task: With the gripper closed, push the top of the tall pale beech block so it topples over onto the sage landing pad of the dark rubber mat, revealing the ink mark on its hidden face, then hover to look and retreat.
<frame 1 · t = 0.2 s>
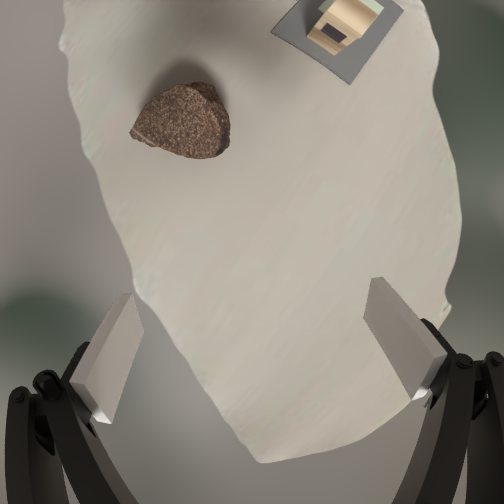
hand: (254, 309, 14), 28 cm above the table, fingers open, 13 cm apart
beech block: (328, 36, 30), resting on rubber mat
rock: (195, 122, 35), on the table
rubber mat: (345, 15, 28), on the table
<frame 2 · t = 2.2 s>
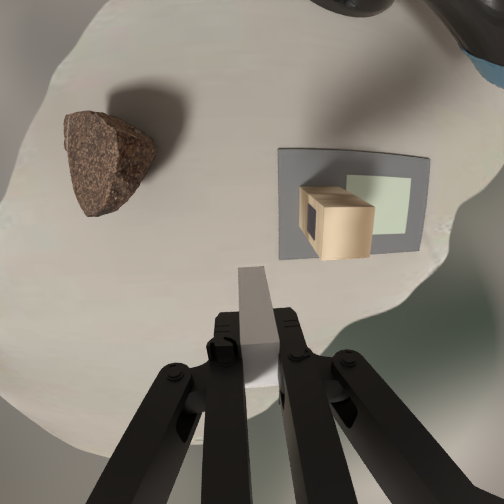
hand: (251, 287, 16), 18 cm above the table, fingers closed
beech block: (319, 206, 33), resting on rubber mat
rock: (130, 152, 30), on the table
rubber mat: (361, 205, 33), on the table
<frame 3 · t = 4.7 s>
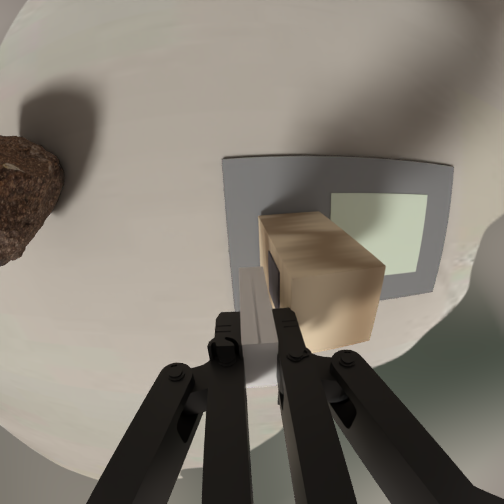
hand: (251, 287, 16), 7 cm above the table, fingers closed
beech block: (289, 242, 22), point 1 cm above the table, tilted 5°, touching gripper, rubber mat
rock: (42, 177, 20), on the table
rubber mat: (354, 236, 23), on the table
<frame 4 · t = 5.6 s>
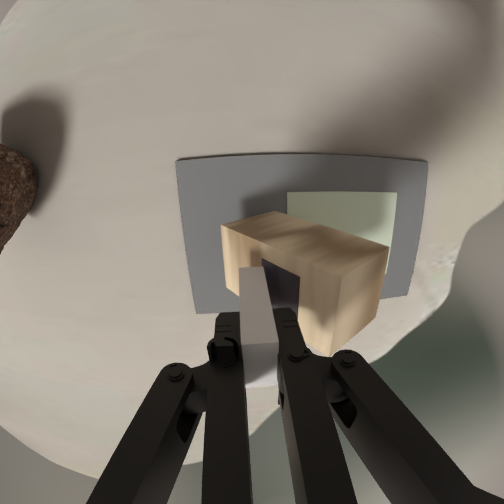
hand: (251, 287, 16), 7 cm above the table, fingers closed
beech block: (250, 248, 21), point 2 cm above the table, tilted 35°, touching gripper, rubber mat
rock: (20, 180, 19), on the table
rubber mat: (315, 236, 23), on the table
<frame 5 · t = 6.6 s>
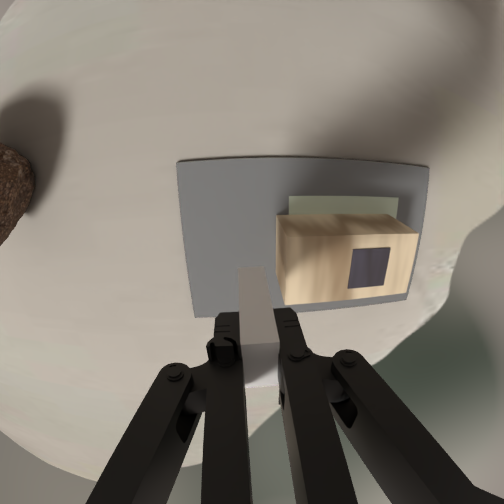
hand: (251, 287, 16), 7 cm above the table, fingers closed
beech block: (280, 257, 20), point 3 cm above the table, tilted 90°, touching rubber mat
rock: (17, 179, 19), on the table
rubber mat: (316, 240, 23), on the table
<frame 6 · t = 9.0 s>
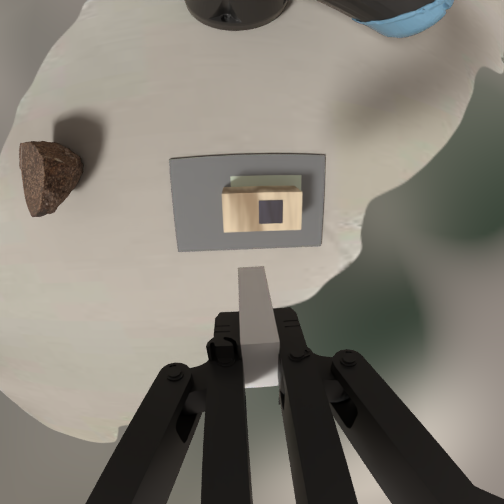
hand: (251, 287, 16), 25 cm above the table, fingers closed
beech block: (223, 208, 36), point 3 cm above the table, tilted 90°, touching rubber mat
rock: (68, 167, 35), on the table
rubber mat: (248, 202, 39), on the table
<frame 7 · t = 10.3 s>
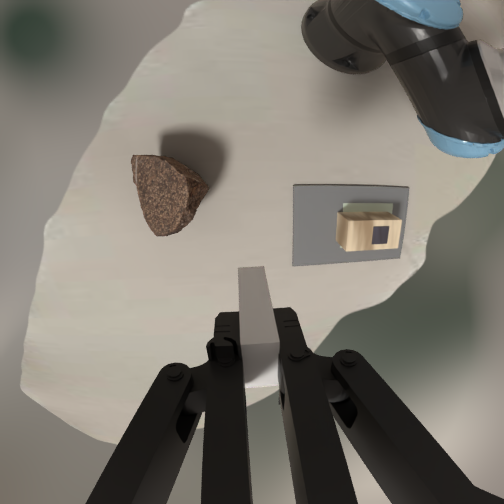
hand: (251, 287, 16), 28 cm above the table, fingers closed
beech block: (341, 231, 43), point 3 cm above the table, tilted 90°, touching rubber mat
rock: (180, 184, 41), on the table
rubber mat: (354, 224, 45), on the table
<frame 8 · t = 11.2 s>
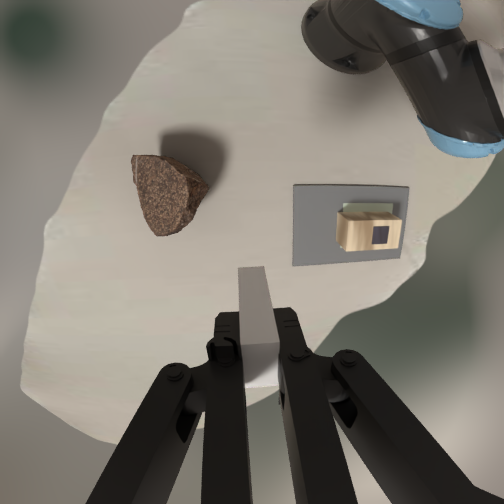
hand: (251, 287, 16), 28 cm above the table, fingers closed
beech block: (341, 231, 43), point 3 cm above the table, tilted 90°, touching rubber mat
rock: (180, 184, 41), on the table
rubber mat: (354, 224, 45), on the table
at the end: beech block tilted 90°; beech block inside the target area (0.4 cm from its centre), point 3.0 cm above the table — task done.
